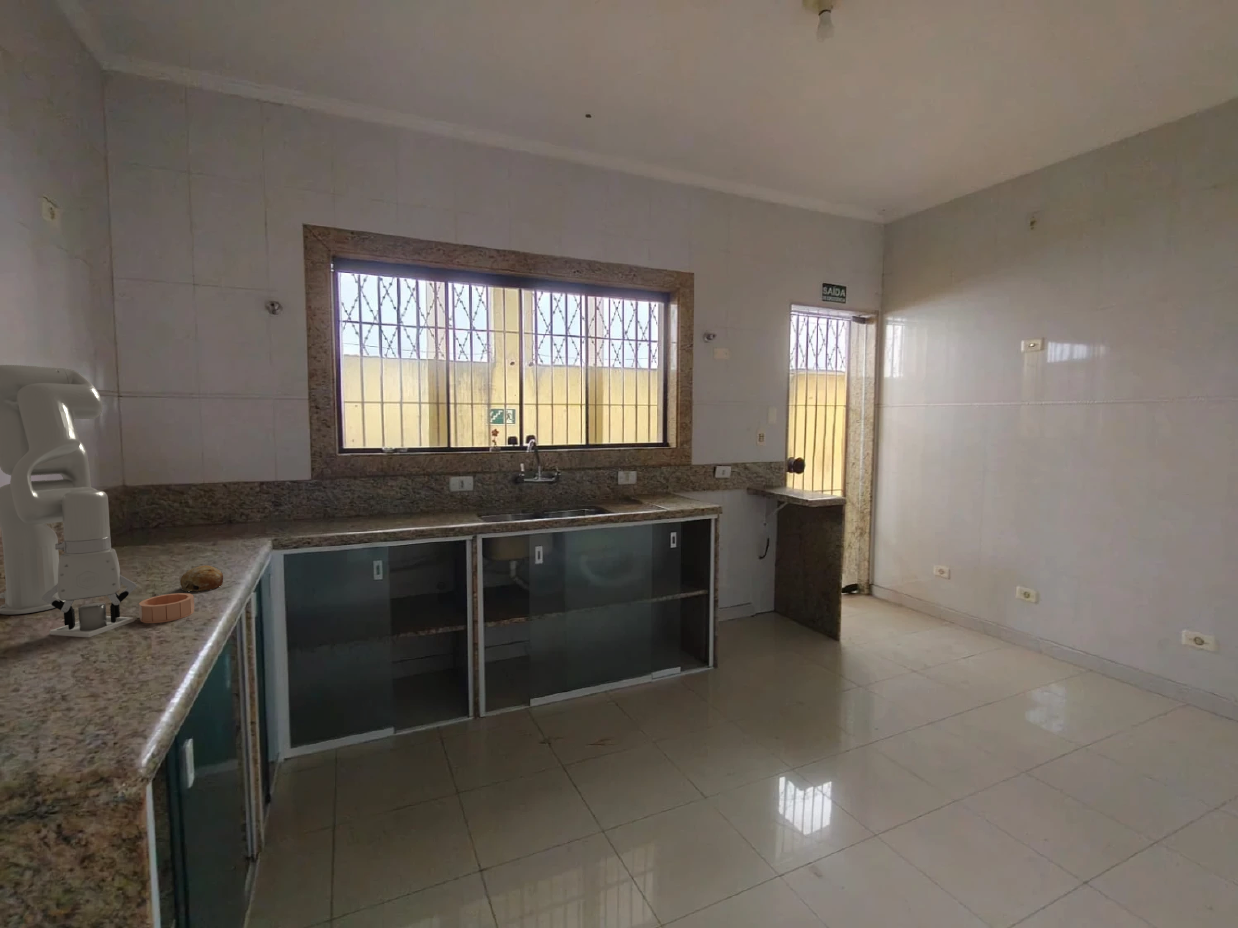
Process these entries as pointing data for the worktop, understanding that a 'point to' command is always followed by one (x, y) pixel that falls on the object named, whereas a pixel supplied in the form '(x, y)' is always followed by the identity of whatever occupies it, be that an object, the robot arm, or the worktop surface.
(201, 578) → the bread roll
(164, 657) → the worktop surface
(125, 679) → the worktop surface
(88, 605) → the grey cylinder
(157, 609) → the bowl
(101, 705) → the worktop surface
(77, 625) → the parts tray
